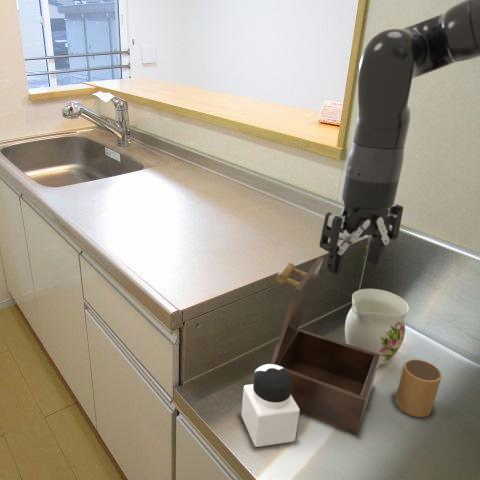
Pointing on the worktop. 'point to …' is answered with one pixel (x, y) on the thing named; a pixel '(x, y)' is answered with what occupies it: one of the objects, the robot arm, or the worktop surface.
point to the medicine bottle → (270, 407)
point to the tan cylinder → (418, 387)
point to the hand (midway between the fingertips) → (354, 267)
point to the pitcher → (376, 322)
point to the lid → (295, 302)
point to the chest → (329, 378)
